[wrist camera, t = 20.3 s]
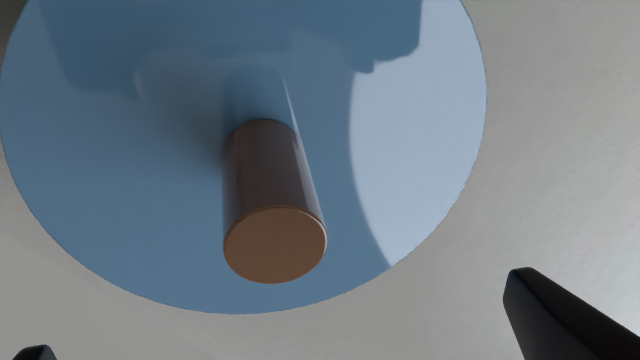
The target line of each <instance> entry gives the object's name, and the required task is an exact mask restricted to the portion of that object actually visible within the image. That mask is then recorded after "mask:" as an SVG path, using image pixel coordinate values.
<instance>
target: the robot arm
mask: <svg viewBox="0 0 640 360" xmlns="http://www.w3.org/2000/svg"><path fill="white" fill-rule="evenodd" d="M503 304H504V308H505V311H506V313H507V316H508V318H509V321H510V323H511V326H512V328H513V331H514V333H515V336H516V338H517V341H518V343H519V346H520V349H521V351H522V354H523V356H524V359H525V360H640V337H639V336H637V335H636V334H634V333H633V332H631V331H630V330H628V329H627V328H625V327H624V326H622V325H620V324H619V323H617V322H616V321H614V320H613V319H611V318H610V317H608V316H606V315H605V314H603V313H602V312H600V311H599V310H597V309H596V308H594V307H592V306H591V305H589V304H588V303H586V302H585V301H583V300H582V299H580V298H578V297H577V296H575V295H574V294H572V293H571V292H569V291H568V290H566V289H564V288H563V287H561V286H560V285H558V284H557V283H555V282H554V281H552V280H551V279H549V278H547V277H546V276H544V275H543V274H541V273H540V272H538V271H537V270H535V269H533V268H531V267H524V268H518V269H513V270H511V271H510V272H509V274H508V278H507V282H506V286H505V290H504V294H503ZM12 360H57V359H56V357H55V355H54V353H53V352H52V350H51V348H50V347H49V346H47V345H38V346H31V347H27V348H24V349H22V350H21V351H20V352H19V353H18V354H17V355H16V356H15V357H14V358H13V359H12Z"/></svg>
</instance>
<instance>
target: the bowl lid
mask: <svg viewBox="0 0 640 360" xmlns="http://www.w3.org/2000/svg"><path fill="white" fill-rule="evenodd" d="M486 107H487V88H486V71H485V66H484V61H483V56H482V51H481V46H480V43H479V40H478V37H477V34H476V32H475V29H474V26H473V23H472V20H471V18H470V16H469V14H468V12H467V10H466V8H465V7H464V5H463V3H462V1H461V0H27V1H26V3H25V5H24V7H23V9H22V11H21V13H20V15H19V17H18V19H17V21H16V23H15V25H14V27H13V29H12V31H11V33H10V36H9V40H8V43H7V47H6V50H5V53H4V57H3V60H2V63H1V70H0V136H1V140H2V145H3V149H4V154H5V158H6V161H7V164H8V166H9V169H10V171H11V174H12V176H13V179H14V182H15V184H16V186H17V188H18V190H19V192H20V194H21V195H22V197H23V199H24V201H25V202H26V204H27V206H28V208H29V209H30V211H31V212H32V214H33V215H34V216H35V217H36V219H37V220H38V221H39V223H40V224H41V225H42V227H43V228H44V229H45V230H46V232H47V233H48V234H49V235H50V236H51V237H52V238H53V239H54V240H55V241H56V242H57V243H58V244H59V245H60V246H61V247H62V248H63V249H64V250H65V251H66V252H67V253H68V254H70V255H71V256H72V257H73V258H75V259H76V260H77V261H78V262H80V263H81V264H82V265H84V266H85V267H86V268H87V269H89V270H91V271H92V272H94V273H95V274H97V275H99V276H100V277H102V278H104V279H105V280H107V281H108V282H110V283H112V284H114V285H116V286H118V287H120V288H122V289H125V290H127V291H129V292H131V293H133V294H135V295H138V296H141V297H144V298H147V299H149V300H152V301H155V302H158V303H161V304H165V305H169V306H173V307H178V308H182V309H187V310H193V311H200V312H207V313H220V314H259V313H267V312H276V311H283V310H288V309H293V308H298V307H303V306H307V305H310V304H314V303H317V302H320V301H324V300H327V299H330V298H333V297H335V296H338V295H340V294H343V293H345V292H348V291H350V290H352V289H354V288H356V287H358V286H360V285H362V284H364V283H366V282H368V281H370V280H372V279H374V278H375V277H377V276H379V275H380V274H382V273H383V272H385V271H386V270H388V269H390V268H391V267H393V266H394V265H395V264H397V263H398V262H399V261H401V260H402V259H403V258H404V257H406V256H407V255H408V254H410V253H411V252H412V251H413V250H414V249H415V248H416V247H417V246H418V245H419V244H421V243H422V242H423V241H424V240H425V239H426V238H427V237H428V236H429V235H430V234H431V233H432V231H433V230H434V229H435V228H436V227H437V226H438V224H439V223H440V222H441V221H442V220H443V219H444V217H445V216H446V215H447V213H448V212H449V210H450V209H451V207H452V206H453V204H454V203H455V201H456V200H457V198H458V197H459V195H460V193H461V191H462V189H463V187H464V185H465V183H466V182H467V180H468V178H469V176H470V174H471V171H472V168H473V166H474V163H475V160H476V158H477V155H478V152H479V148H480V144H481V140H482V136H483V131H484V127H485V117H486Z"/></svg>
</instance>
